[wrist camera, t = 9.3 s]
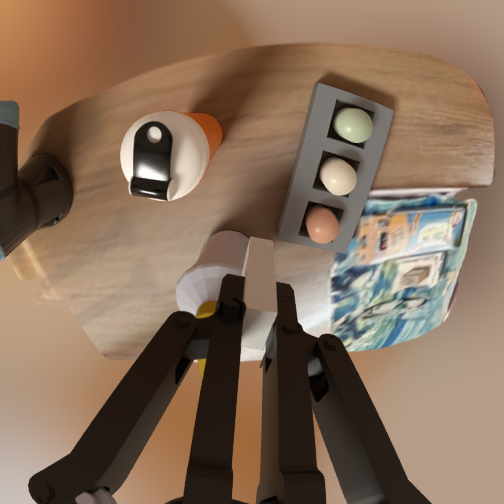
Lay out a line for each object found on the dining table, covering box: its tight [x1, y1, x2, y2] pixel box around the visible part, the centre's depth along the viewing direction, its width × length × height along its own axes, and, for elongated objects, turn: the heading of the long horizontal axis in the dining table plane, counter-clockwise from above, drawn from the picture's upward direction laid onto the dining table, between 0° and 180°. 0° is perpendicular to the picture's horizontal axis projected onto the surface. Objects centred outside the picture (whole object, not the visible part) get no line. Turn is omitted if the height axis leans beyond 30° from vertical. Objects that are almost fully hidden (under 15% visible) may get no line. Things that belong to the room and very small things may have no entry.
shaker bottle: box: [120, 111, 223, 201], centre depth 30 cm, size 9×9×20 cm
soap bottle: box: [175, 230, 250, 380], centre depth 38 cm, size 13×13×25 cm
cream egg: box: [319, 157, 357, 195], centre depth 37 cm, size 5×5×4 cm
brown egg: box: [305, 205, 340, 244], centre depth 41 cm, size 5×5×4 cm
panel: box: [276, 83, 394, 254], centre depth 39 cm, size 12×25×3 cm, turn 168°
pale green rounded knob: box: [333, 108, 373, 143], centre depth 33 cm, size 5×5×4 cm
